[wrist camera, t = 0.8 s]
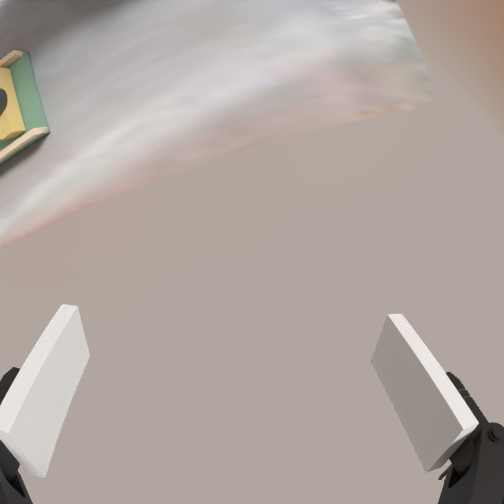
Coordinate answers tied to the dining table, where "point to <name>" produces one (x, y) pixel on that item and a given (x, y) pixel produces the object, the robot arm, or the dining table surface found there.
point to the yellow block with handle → (9, 107)
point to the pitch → (24, 104)
